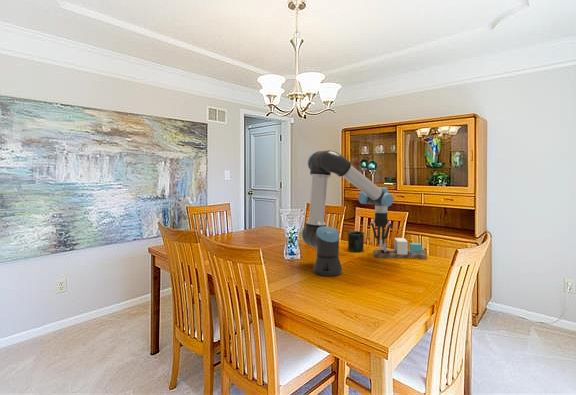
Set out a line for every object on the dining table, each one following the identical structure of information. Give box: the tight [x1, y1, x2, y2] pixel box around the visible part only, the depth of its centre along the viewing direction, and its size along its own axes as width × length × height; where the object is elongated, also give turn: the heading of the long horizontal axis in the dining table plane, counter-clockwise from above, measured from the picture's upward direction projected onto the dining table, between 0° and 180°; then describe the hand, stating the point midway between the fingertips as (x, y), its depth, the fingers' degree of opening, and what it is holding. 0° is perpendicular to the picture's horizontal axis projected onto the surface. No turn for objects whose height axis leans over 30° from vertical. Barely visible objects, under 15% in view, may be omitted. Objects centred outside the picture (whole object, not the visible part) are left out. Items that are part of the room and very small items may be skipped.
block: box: [409, 242, 423, 252], centre depth 200 cm, size 6×4×4 cm
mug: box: [347, 230, 365, 253], centre depth 217 cm, size 11×15×12 cm
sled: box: [382, 242, 427, 254], centre depth 201 cm, size 24×7×5 cm, turn 82°
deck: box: [372, 248, 428, 260], centre depth 202 cm, size 30×11×2 cm, turn 82°
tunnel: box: [393, 237, 409, 255], centre depth 201 cm, size 6×10×8 cm, turn 172°
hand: (380, 249), depth 203 cm, fingers closed
